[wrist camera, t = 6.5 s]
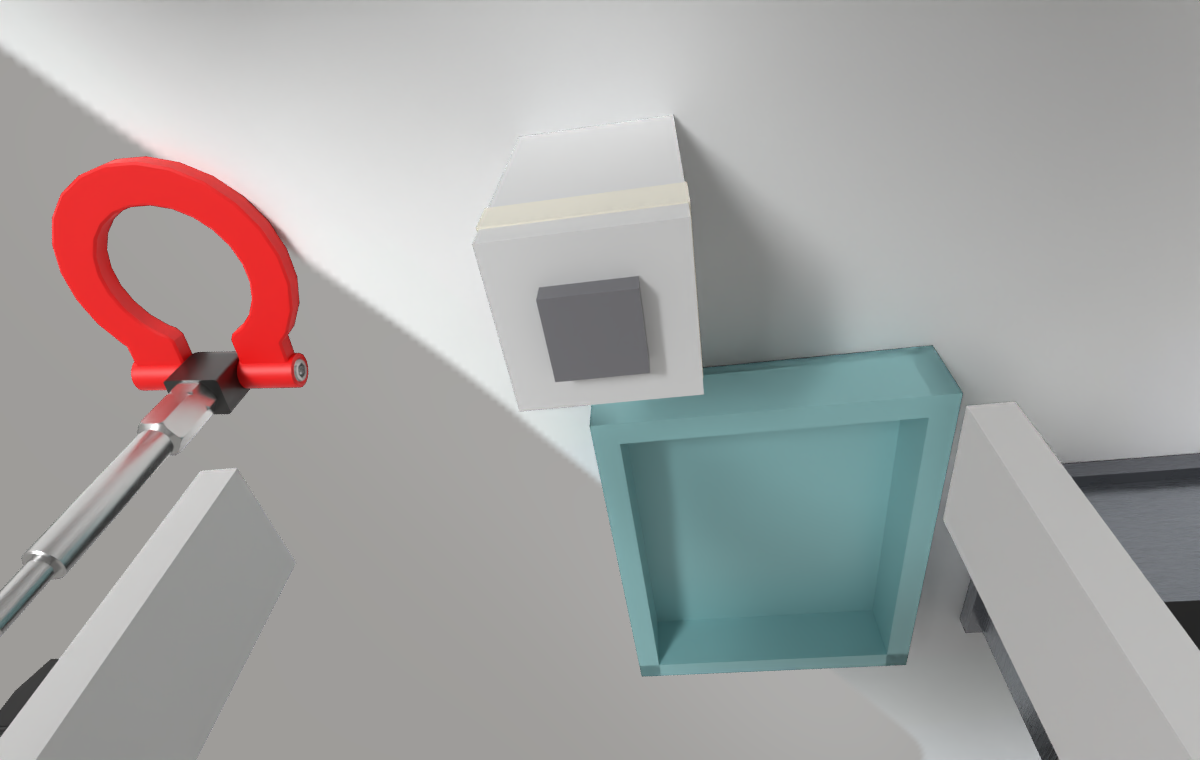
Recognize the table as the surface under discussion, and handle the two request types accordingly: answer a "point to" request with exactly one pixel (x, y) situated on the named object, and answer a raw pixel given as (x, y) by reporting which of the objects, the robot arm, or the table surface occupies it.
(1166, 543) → the controller unit
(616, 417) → the parts tray
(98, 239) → the tow hook
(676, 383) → the white tall square block
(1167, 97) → the table surface
